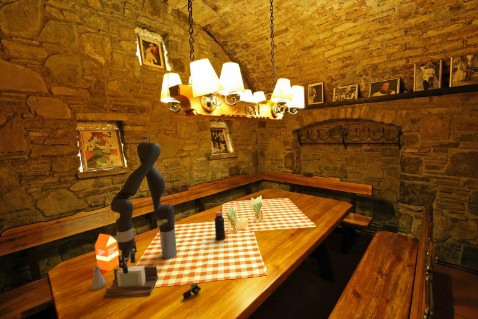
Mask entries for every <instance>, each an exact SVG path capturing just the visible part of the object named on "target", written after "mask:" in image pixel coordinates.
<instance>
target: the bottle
mask: <svg viewBox="0 0 478 319" xmlns="http://www.w3.org/2000/svg"><path fill="white" fill-rule="evenodd" d="M214 215H215V217H214V229H215V230H214V231H215V232H214V233H215V240H216V241H224V240H225V239H226V231H225V217H223V211H222V210H217V211H215V214H214Z"/></svg>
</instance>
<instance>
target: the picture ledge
mask: <svg viewBox="0 0 478 319" xmlns="http://www.w3.org/2000/svg"><path fill="white" fill-rule="evenodd" d="M118 270H119V268H113V274H114V275H113V276H114V278H113V280H112V285H110V287H106V289H105V293H104V295H103V299H111V298H112V299H115V298H125V297H126V298H128V297H129V298H130V297H139V296H140V297H141V296H143V297H144V296H151V294H152V292H153V291H154V288H155V286H156V283H157V282H158V281H159V277H158V267H157V265H153V266H144V270H145V279H146V282H145V284H144V285H143V286H129V287H118V280H117V271H118Z"/></svg>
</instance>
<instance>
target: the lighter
mask: <svg viewBox="0 0 478 319" xmlns="http://www.w3.org/2000/svg"><path fill="white" fill-rule="evenodd" d="M201 290H202V288H201V287H200V286H199V285H198V284H197V283H195V282H194V283H191V285H190V289H188V290H186V291H184V292H183V293H182V296H183V299H184V300H188V299H189V298H191V297H192V296H193V295H194V296H196V295H198V293H199V292H200V291H201Z"/></svg>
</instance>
